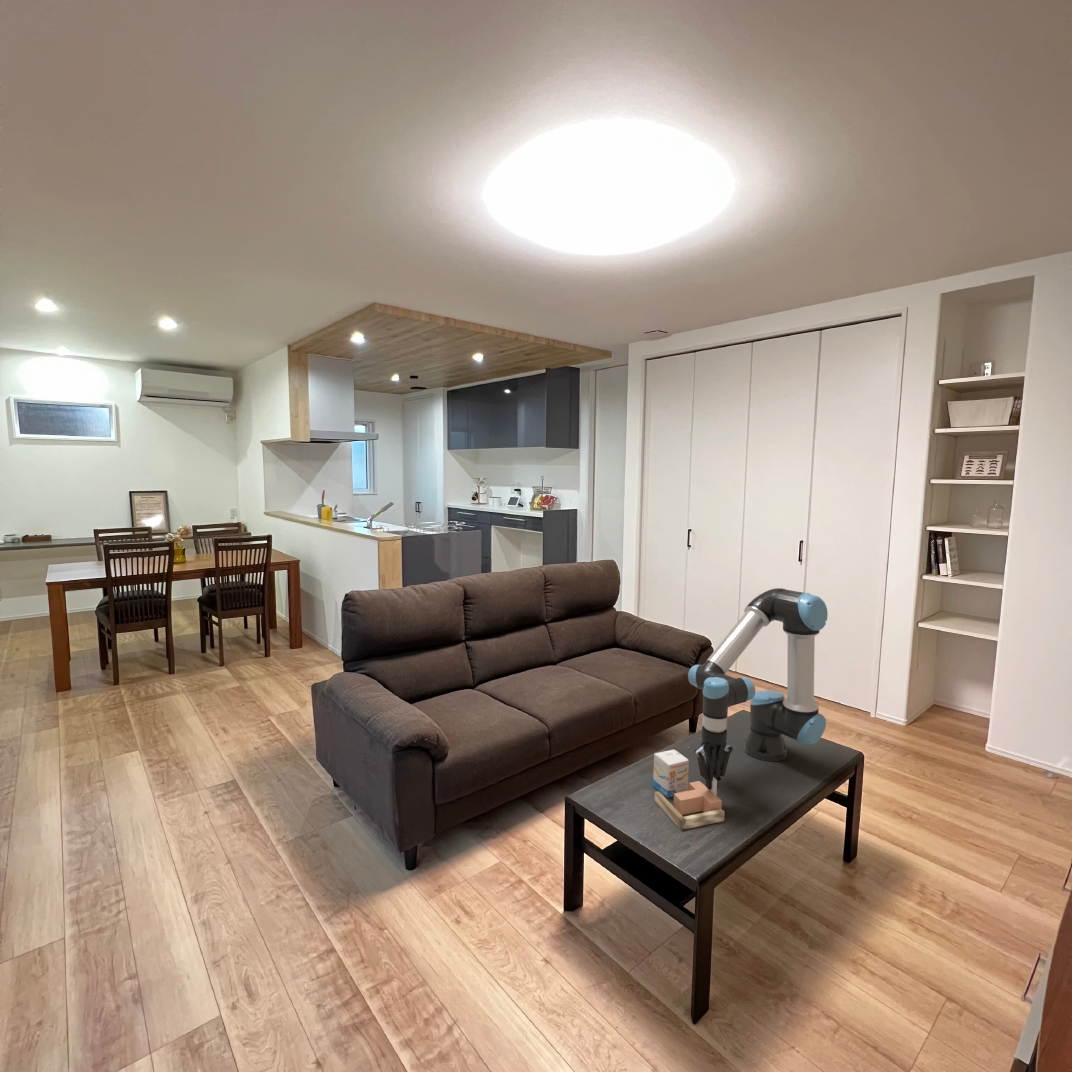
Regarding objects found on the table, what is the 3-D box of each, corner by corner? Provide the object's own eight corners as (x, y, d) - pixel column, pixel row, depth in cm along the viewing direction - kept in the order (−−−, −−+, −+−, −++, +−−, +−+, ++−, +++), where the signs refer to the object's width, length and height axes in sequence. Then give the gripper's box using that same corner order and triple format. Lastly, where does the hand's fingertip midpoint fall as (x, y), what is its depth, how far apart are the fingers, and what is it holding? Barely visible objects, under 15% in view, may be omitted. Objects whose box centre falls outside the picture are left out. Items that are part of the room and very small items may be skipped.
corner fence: (694, 792, 190) (695, 784, 189) (724, 820, 174) (724, 811, 174) (654, 800, 185) (654, 792, 185) (681, 830, 170) (681, 820, 170)
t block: (687, 823, 173) (687, 807, 173) (666, 801, 185) (667, 786, 184) (721, 815, 177) (721, 800, 176) (699, 795, 188) (699, 780, 188)
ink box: (667, 798, 186) (668, 764, 185) (652, 785, 194) (653, 753, 193) (688, 792, 190) (689, 759, 188) (673, 780, 198) (674, 748, 196)
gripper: (724, 719, 185) (722, 788, 188) (689, 725, 182) (687, 794, 184) (739, 729, 178) (736, 800, 181) (703, 735, 174) (701, 807, 177)
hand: (711, 797), depth 183 cm, fingers closed
